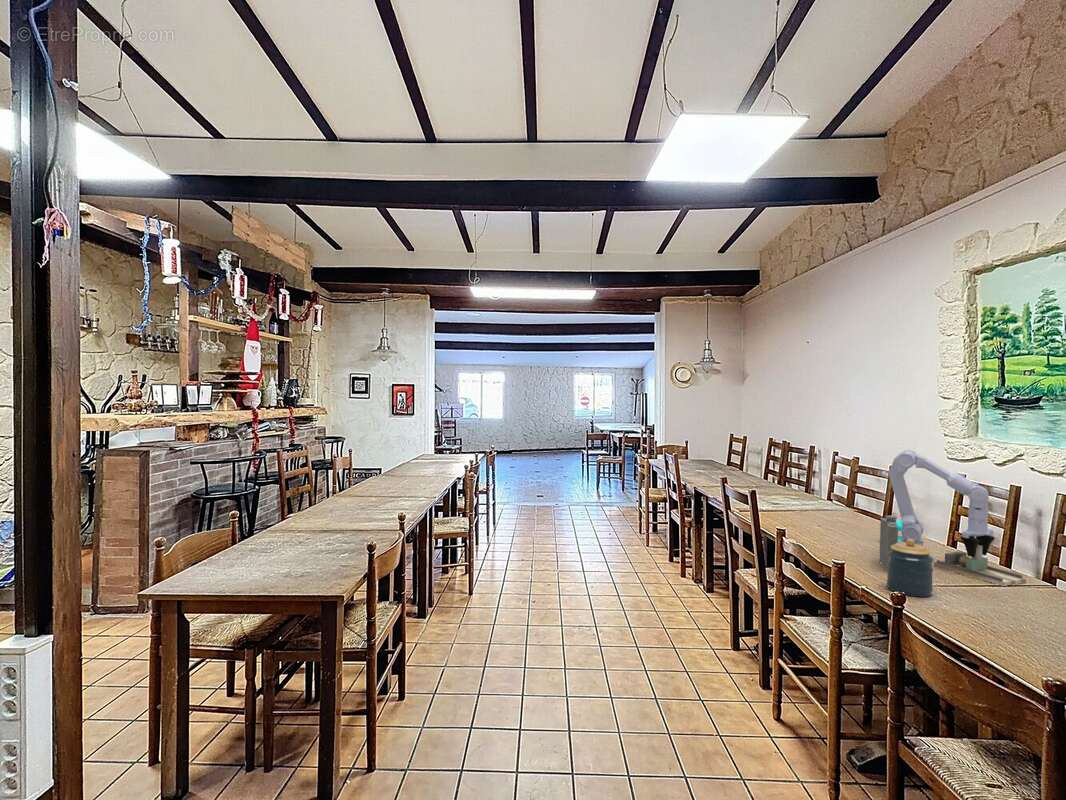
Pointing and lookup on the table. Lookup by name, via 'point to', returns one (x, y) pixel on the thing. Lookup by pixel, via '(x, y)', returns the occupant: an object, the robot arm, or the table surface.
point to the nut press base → (979, 571)
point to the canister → (910, 569)
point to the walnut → (963, 560)
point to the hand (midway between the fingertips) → (976, 555)
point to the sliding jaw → (977, 561)
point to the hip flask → (887, 537)
